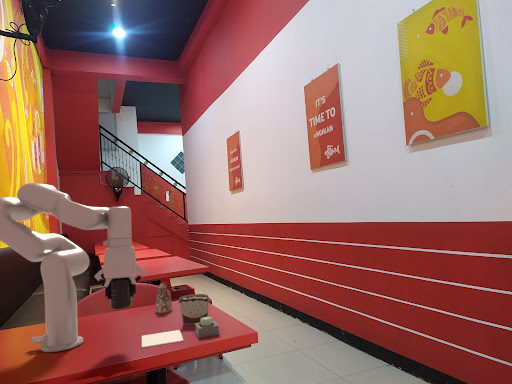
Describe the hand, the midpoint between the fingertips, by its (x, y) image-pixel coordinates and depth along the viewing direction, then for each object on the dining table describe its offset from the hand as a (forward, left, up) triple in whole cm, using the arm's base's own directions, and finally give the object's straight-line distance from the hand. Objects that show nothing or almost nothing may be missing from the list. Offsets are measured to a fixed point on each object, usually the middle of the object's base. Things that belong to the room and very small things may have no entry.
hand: (120, 296), depth 120 cm
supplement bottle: (0, 0, -3) cm, 3 cm away
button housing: (+28, -3, -15) cm, 32 cm away
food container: (+27, +13, -16) cm, 33 cm away
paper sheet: (+12, -1, -15) cm, 20 cm away
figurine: (+16, +39, -16) cm, 45 cm away
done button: (+28, -3, -13) cm, 31 cm away
